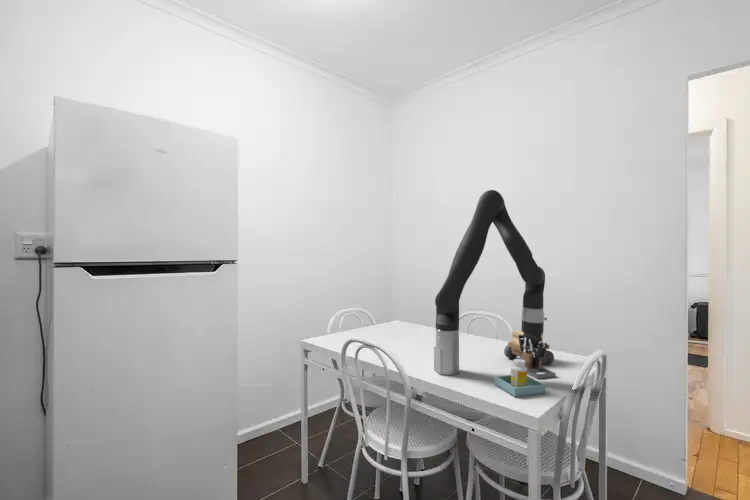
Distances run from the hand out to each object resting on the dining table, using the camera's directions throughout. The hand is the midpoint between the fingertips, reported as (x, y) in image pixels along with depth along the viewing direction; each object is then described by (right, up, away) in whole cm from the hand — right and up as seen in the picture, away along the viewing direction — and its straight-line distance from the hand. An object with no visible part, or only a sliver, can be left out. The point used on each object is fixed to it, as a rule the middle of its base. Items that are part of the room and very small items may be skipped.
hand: (531, 365), depth 139 cm
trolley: (+9, -6, +25) cm, 27 cm away
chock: (0, -1, 0) cm, 1 cm away
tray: (-7, -6, -7) cm, 12 cm away
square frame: (+6, -6, +8) cm, 12 cm away
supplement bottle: (-7, -6, -7) cm, 12 cm away
